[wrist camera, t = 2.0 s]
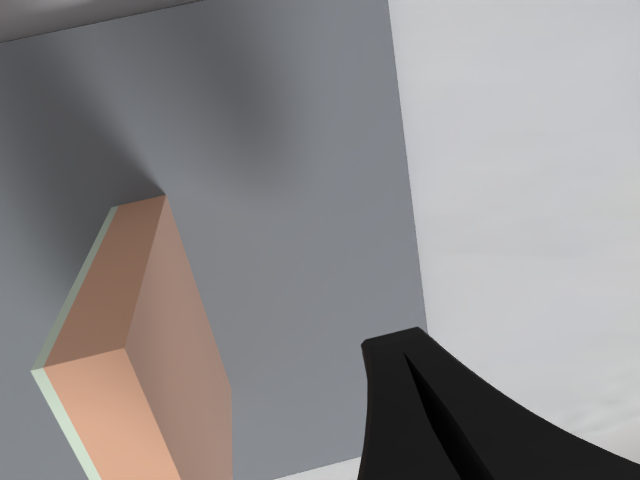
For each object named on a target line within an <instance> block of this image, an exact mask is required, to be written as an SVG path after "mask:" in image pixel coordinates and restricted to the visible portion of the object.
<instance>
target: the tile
mask: <svg viewBox="0 0 640 480" xmlns="http://www.w3.org/2000/svg"><path fill="white" fill-rule="evenodd" d="M31 373H32V375H33V377H34V379H35V381H36V382H37V384H38V386H39V388H40V390H41V392H42V393H43V395H44V397H45V399H46V401H47V403H48V405H49V406H50V408H51V410H52V412H53V414H54V416H55V418H56V419H57V421H58V423H59V425H60V427H61V429H62V431H63V432H64V434H65V436H66V438H67V440H68V442H69V444H70V445H71V447H72V449H73V451H74V453H75V455H76V457H77V458H78V460H79V462H80V464H81V466H82V468H83V470H84V471H85V473H86V475H87V477H88V479H89V480H233V463H232V397H231V386H230V383H229V380H228V377H227V374H226V372H225V369H224V366H223V363H222V360H221V357H220V354H219V351H218V348H217V345H216V342H215V339H214V336H213V333H212V330H211V327H210V324H209V321H208V318H207V315H206V312H205V309H204V306H203V303H202V300H201V297H200V294H199V291H198V288H197V285H196V282H195V279H194V276H193V273H192V270H191V267H190V264H189V261H188V258H187V255H186V252H185V249H184V247H183V244H182V241H181V238H180V235H179V232H178V229H177V226H176V223H175V220H174V217H173V214H172V211H171V208H170V205H169V202H168V199H167V196H166V195H163V196H158V197H154V198H150V199H145V200H141V201H137V202H132V203H128V204H124V205H119V206H115V207H111V209H110V211H109V213H108V215H107V217H106V219H105V221H104V223H103V225H102V227H101V229H100V231H99V233H98V235H97V237H96V239H95V241H94V244H93V246H92V248H91V250H90V252H89V254H88V256H87V258H86V260H85V262H84V264H83V266H82V268H81V270H80V272H79V274H78V276H77V278H76V280H75V282H74V284H73V286H72V288H71V290H70V292H69V294H68V296H67V298H66V300H65V302H64V304H63V306H62V308H61V310H60V312H59V314H58V316H57V318H56V320H55V322H54V324H53V326H52V328H51V330H50V332H49V334H48V336H47V338H46V340H45V342H44V344H43V346H42V348H41V350H40V352H39V355H38V357H37V359H36V361H35V363H34V365H33V367H32V369H31Z"/></svg>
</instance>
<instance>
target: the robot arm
mask: <svg viewBox="0 0 640 480" xmlns="http://www.w3.org/2000/svg"><path fill="white" fill-rule="evenodd" d="M361 349H362V355H363V360H364V365H365V370H366V376H367V415H366V425H365V436H364V444H363V451H362V457H361V463H360V468H359V474H358V479H357V480H640V464H637V463H635V462H632V461H629V460H627V459H625V458H623V457H620V456H618V455H615V454H613V453H611V452H609V451H607V450H605V449H602V448H600V447H598V446H596V445H594V444H592V443H589V442H587V441H585V440H583V439H581V438H579V437H576V436H574V435H572V434H570V433H568V432H566V431H565V430H563V429H561V428H559V427H557V426H555V425H553V424H552V423H550V422H548V421H546V420H545V419H543V418H541V417H539V416H538V415H536V414H534V413H533V412H531V411H529V410H528V409H526V408H524V407H523V406H521V405H520V404H518V403H516V402H515V401H513V400H512V399H510V398H509V397H507V396H506V395H504V394H503V393H501V392H500V391H498V390H497V389H496V388H494V387H493V386H491V385H490V384H489V383H487V382H486V381H484V380H483V379H482V378H481V377H479V376H478V375H477V374H475V373H474V372H473V371H471V370H470V369H469V368H467V367H466V366H465V365H463V364H462V363H461V362H460V361H458V360H457V359H456V358H455V357H454V356H452V355H451V354H450V353H449V352H448V351H446V350H445V349H444V348H443V347H442V346H440V345H439V344H438V343H437V342H436V341H435V340H434V339H433V338H431V337H430V336H429V335H428V334H427V333H426V332H425V331H424V330H423V329H421V328H419V327H418V326H417V327H413V328H409V329H405V330H401V331H397V332H393V333H389V334H385V335H381V336H377V337H373V338H369V339H365V340H364V341H363V343H362V344H361Z"/></svg>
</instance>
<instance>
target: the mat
mask: <svg viewBox="0 0 640 480" xmlns="http://www.w3.org/2000/svg"><path fill="white" fill-rule="evenodd" d="M163 195H166V196H167V199H168V202H169V205H170V208H171V211H172V214H173V217H174V220H175V223H176V226H177V229H178V232H179V235H180V238H181V241H182V244H183V247H184V249H185V252H186V255H187V258H188V261H189V264H190V267H191V270H192V273H193V276H194V279H195V282H196V285H197V288H198V291H199V294H200V297H201V300H202V303H203V306H204V309H205V312H206V315H207V318H208V321H209V324H210V327H211V330H212V333H213V336H214V339H215V342H216V345H217V348H218V351H219V354H220V357H221V360H222V363H223V366H224V369H225V372H226V374H227V377H228V380H229V383H230V386H231V397H232V463H233V480H273V479H277V478H281V477H285V476H289V475H292V474H296V473H300V472H304V471H308V470H312V469H315V468H319V467H323V466H327V465H331V464H334V463H338V462H342V461H346V460H350V459H354V458H357V457H361V456H362V451H363V444H364V436H365V425H366V415H367V376H366V370H365V365H364V360H363V355H362V349H361V344H362V343H363V341H364V340H365V339H369V338H373V337H377V336H381V335H385V334H389V333H393V332H397V331H401V330H405V329H409V328H413V327H417V326H418V327H419V328H421V329H423V330H424V331H425V332H426V333H427V334H428V331H427V323H426V314H425V306H424V298H423V289H422V281H421V273H420V264H419V256H418V248H417V239H416V231H415V223H414V214H413V206H412V198H411V189H410V181H409V173H408V164H407V156H406V148H405V139H404V131H403V123H402V115H401V106H400V98H399V90H398V81H397V73H396V65H395V56H394V48H393V40H392V31H391V23H390V15H389V6H388V0H202V1H198V2H193V3H188V4H183V5H179V6H174V7H169V8H164V9H160V10H155V11H150V12H145V13H141V14H136V15H131V16H126V17H122V18H117V19H112V20H107V21H103V22H98V23H93V24H88V25H84V26H79V27H74V28H69V29H65V30H60V31H55V32H50V33H46V34H41V35H36V36H31V37H27V38H22V39H17V40H12V41H8V42H3V43H0V480H89V479H88V477H87V475H86V473H85V471H84V470H83V468H82V466H81V464H80V462H79V460H78V458H77V457H76V455H75V453H74V451H73V449H72V447H71V445H70V444H69V442H68V440H67V438H66V436H65V434H64V432H63V431H62V429H61V427H60V425H59V423H58V421H57V419H56V418H55V416H54V414H53V412H52V410H51V408H50V406H49V405H48V403H47V401H46V399H45V397H44V395H43V393H42V392H41V390H40V388H39V386H38V384H37V382H36V381H35V379H34V377H33V375H32V373H31V369H32V367H33V365H34V363H35V361H36V359H37V357H38V355H39V352H40V350H41V348H42V346H43V344H44V342H45V340H46V338H47V336H48V334H49V332H50V330H51V328H52V326H53V324H54V322H55V320H56V318H57V316H58V314H59V312H60V310H61V308H62V306H63V304H64V302H65V300H66V298H67V296H68V294H69V292H70V290H71V288H72V286H73V284H74V282H75V280H76V278H77V276H78V274H79V272H80V270H81V268H82V266H83V264H84V262H85V260H86V258H87V256H88V254H89V252H90V250H91V248H92V246H93V244H94V241H95V239H96V237H97V235H98V233H99V231H100V229H101V227H102V225H103V223H104V221H105V219H106V217H107V215H108V213H109V211H110V209H111V207H115V206H119V205H124V204H128V203H132V202H137V201H141V200H145V199H150V198H154V197H158V196H163Z"/></svg>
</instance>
